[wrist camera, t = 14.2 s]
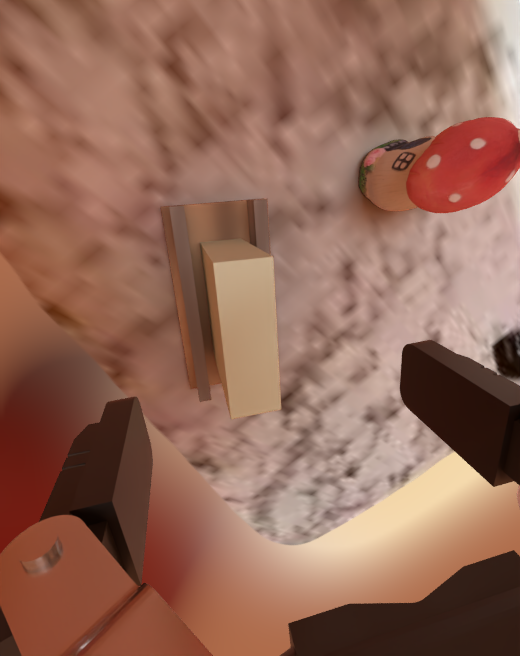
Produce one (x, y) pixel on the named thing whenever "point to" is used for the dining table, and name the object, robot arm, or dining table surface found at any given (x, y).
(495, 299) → the dining table surface
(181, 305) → the door track
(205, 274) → the door panel
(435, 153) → the decorative ornament
